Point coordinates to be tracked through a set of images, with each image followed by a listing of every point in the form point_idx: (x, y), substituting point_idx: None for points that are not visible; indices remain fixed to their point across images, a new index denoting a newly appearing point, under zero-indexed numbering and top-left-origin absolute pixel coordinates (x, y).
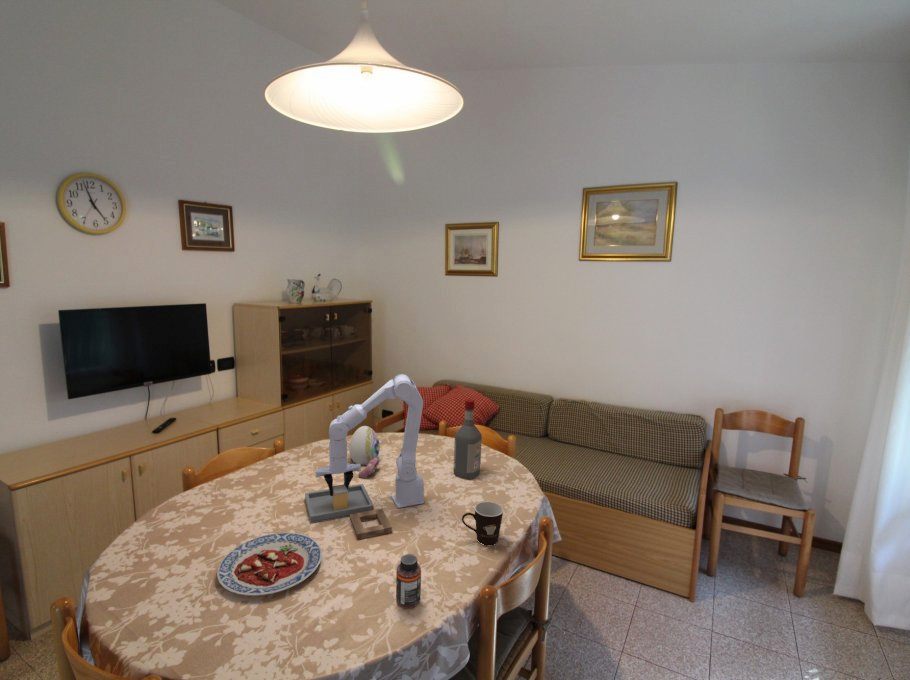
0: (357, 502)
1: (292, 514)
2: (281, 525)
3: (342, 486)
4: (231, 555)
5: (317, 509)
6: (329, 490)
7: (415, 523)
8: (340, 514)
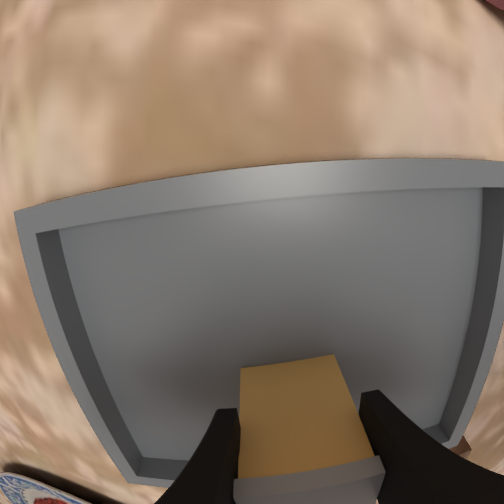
0: (415, 364)
1: (31, 365)
2: (30, 421)
3: (347, 501)
4: (7, 490)
5: (143, 392)
6: (208, 431)
7: (495, 462)
8: None
